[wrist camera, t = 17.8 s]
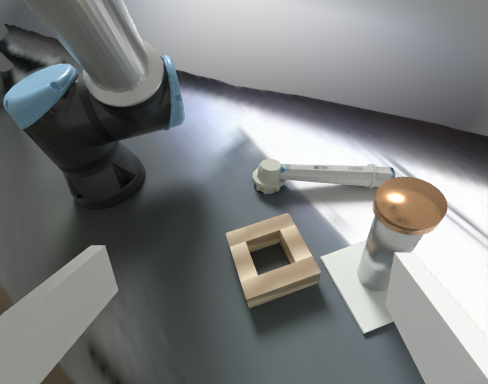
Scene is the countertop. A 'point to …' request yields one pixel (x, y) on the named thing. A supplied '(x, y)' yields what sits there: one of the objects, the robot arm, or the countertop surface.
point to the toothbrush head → (317, 175)
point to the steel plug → (398, 226)
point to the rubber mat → (357, 288)
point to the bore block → (278, 280)
